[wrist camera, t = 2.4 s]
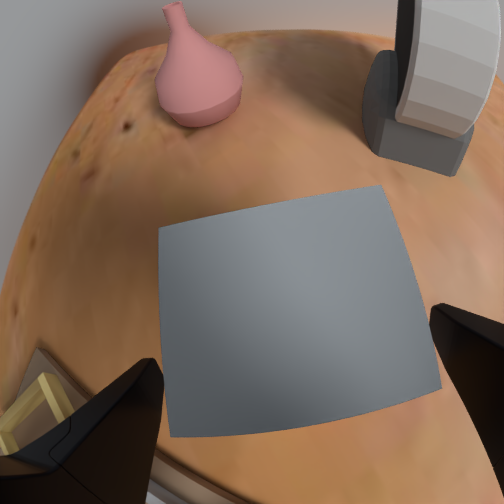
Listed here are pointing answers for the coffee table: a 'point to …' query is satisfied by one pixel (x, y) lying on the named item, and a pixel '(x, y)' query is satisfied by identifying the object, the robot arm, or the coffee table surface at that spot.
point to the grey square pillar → (290, 316)
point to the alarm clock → (432, 82)
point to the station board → (78, 400)
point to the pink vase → (196, 75)
